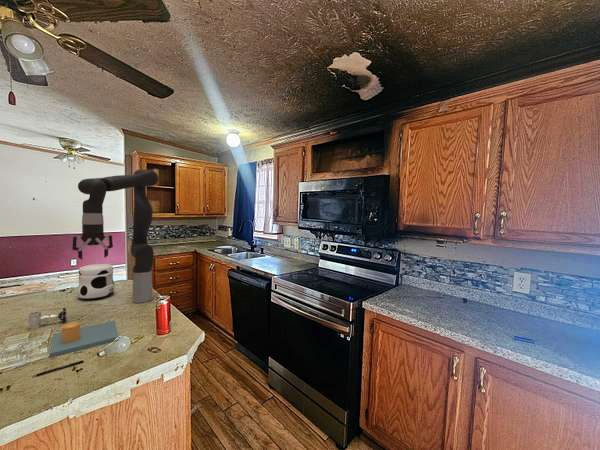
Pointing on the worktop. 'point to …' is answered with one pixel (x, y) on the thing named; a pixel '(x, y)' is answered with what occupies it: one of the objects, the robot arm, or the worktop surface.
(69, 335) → the cap
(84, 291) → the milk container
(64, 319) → the valve
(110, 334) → the board
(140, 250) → the robot arm
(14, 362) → the worktop surface
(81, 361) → the black thin rod
